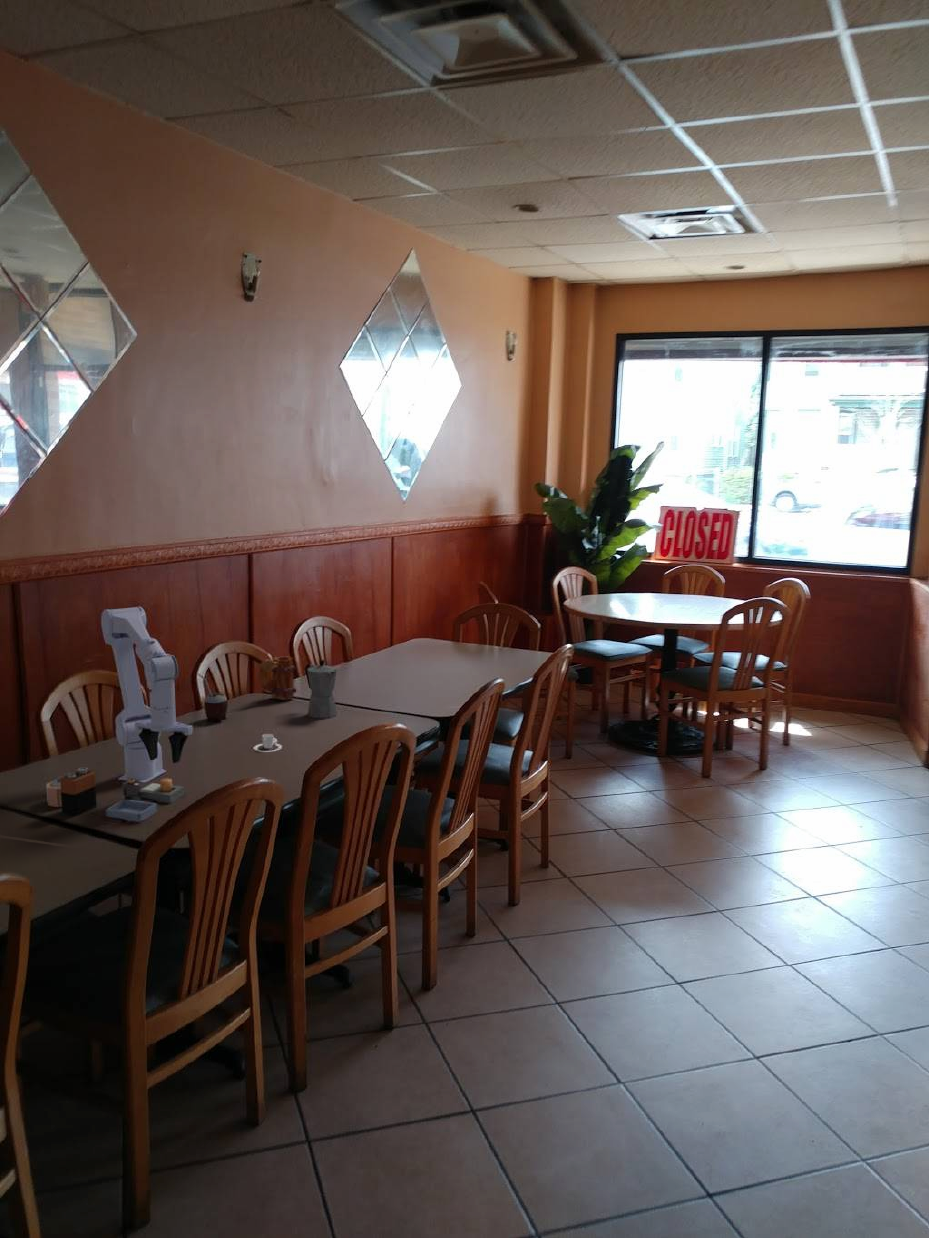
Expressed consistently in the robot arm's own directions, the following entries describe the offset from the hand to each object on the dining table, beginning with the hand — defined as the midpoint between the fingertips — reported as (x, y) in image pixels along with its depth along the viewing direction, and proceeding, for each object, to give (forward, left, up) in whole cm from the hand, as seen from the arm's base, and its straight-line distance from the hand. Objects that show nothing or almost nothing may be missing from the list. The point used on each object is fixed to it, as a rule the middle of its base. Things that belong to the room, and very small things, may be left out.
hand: (165, 760), depth 227 cm
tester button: (0, 0, -8) cm, 8 cm away
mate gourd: (-61, -22, -10) cm, 66 cm away
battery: (+14, -14, -10) cm, 22 cm away
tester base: (0, -1, -9) cm, 10 cm away
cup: (+11, -21, -9) cm, 26 cm away
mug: (-88, -14, -10) cm, 90 cm away
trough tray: (+12, -2, -9) cm, 15 cm away
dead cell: (+11, -21, -9) cm, 25 cm away
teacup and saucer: (-44, +8, -10) cm, 46 cm away
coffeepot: (-78, +6, -10) cm, 79 cm away
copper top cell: (+6, -6, -9) cm, 12 cm away
